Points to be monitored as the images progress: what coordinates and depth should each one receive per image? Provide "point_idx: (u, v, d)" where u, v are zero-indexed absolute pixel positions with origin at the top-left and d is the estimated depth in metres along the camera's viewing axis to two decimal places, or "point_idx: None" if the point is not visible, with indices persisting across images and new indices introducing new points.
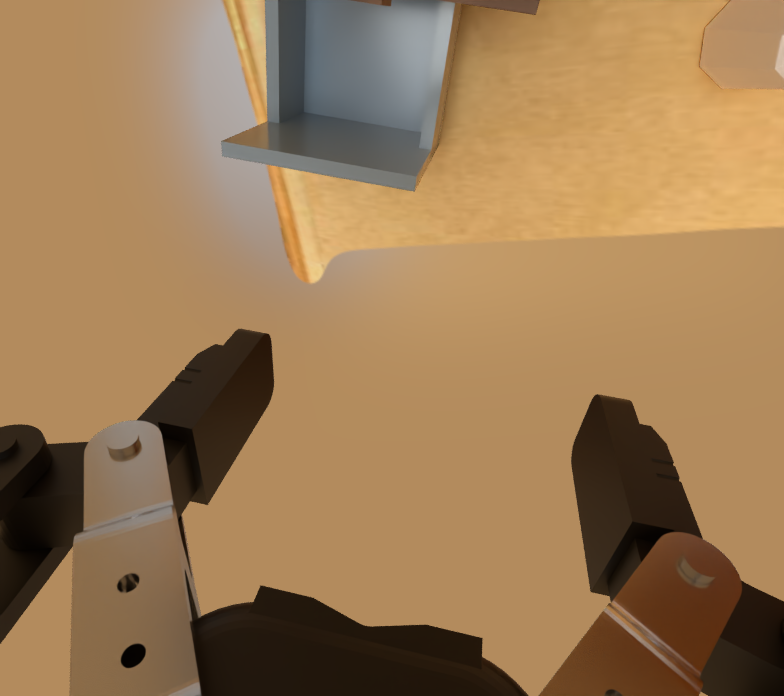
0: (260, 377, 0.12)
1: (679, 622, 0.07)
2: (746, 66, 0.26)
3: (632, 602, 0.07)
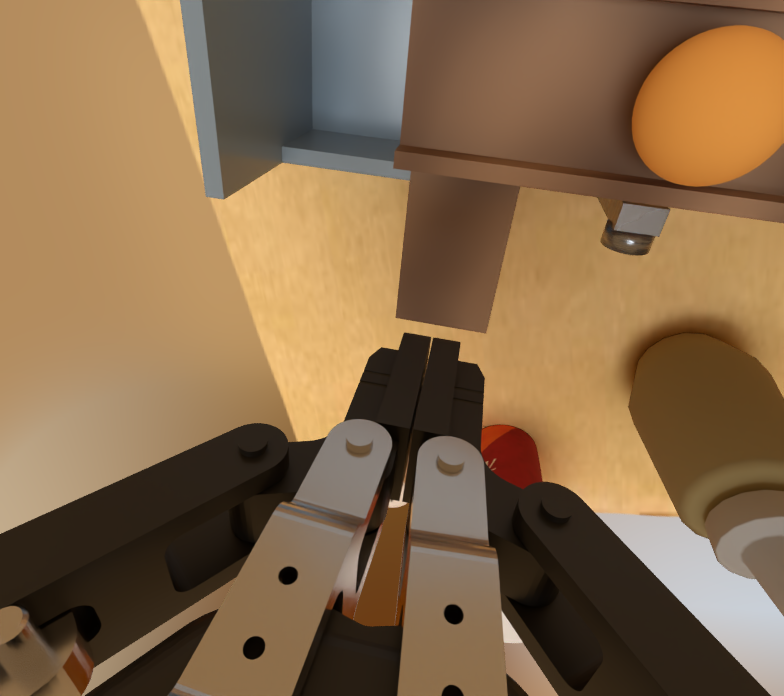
0: (423, 378, 0.12)
1: (459, 512, 0.08)
2: None
3: (424, 520, 0.08)
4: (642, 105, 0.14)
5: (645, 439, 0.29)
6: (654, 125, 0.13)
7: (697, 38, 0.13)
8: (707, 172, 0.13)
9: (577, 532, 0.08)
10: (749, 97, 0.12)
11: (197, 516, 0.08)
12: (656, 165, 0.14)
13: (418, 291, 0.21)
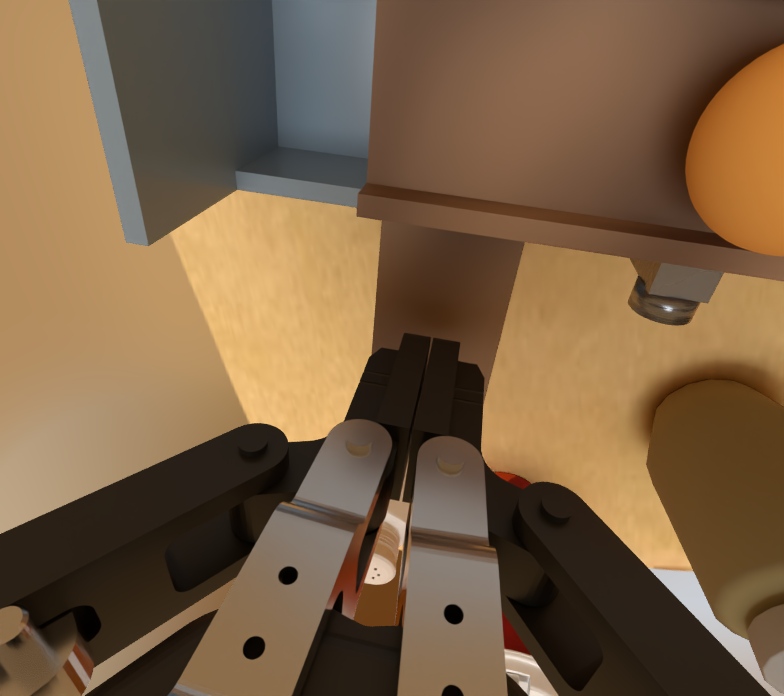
0: (423, 379, 0.12)
1: (459, 512, 0.08)
2: None
3: (424, 520, 0.08)
4: (707, 143, 0.09)
5: (668, 509, 0.25)
6: (727, 174, 0.09)
7: None
8: None
9: (577, 532, 0.08)
10: None
11: (197, 516, 0.08)
12: (725, 228, 0.10)
13: None
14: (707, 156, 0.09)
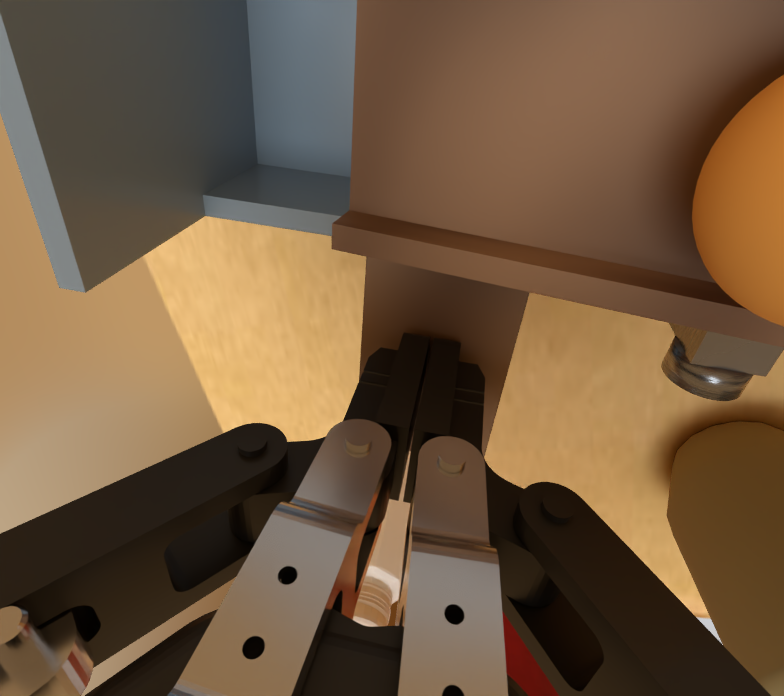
0: (422, 378, 0.12)
1: (460, 512, 0.08)
2: None
3: (424, 520, 0.08)
4: (703, 170, 0.07)
5: (693, 572, 0.22)
6: (710, 209, 0.07)
7: None
8: None
9: (578, 532, 0.08)
10: None
11: (196, 516, 0.08)
12: (717, 280, 0.08)
13: None
14: (700, 187, 0.07)
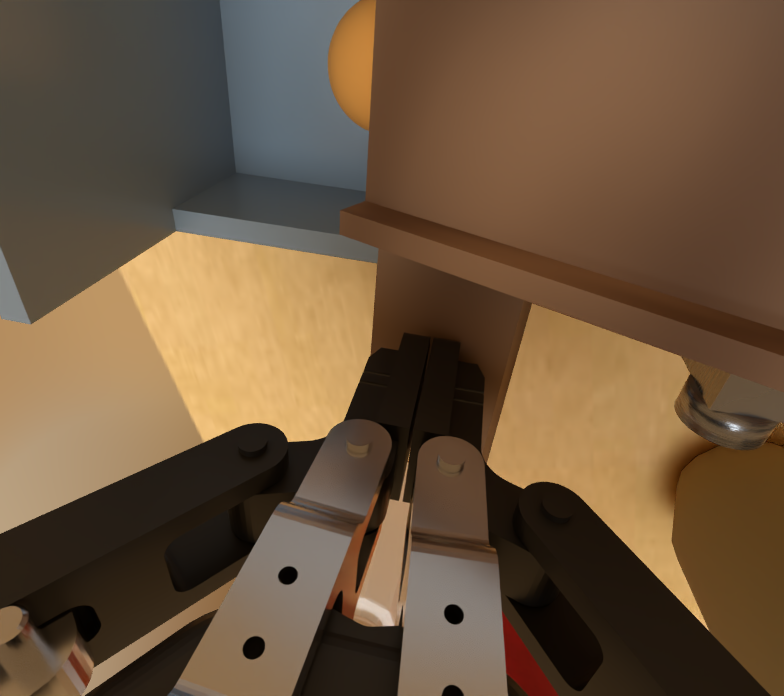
0: (423, 378, 0.12)
1: (459, 512, 0.08)
2: None
3: (424, 520, 0.08)
4: None
5: (701, 604, 0.21)
6: None
7: None
8: None
9: (577, 532, 0.08)
10: None
11: (197, 516, 0.08)
12: None
13: None
14: None
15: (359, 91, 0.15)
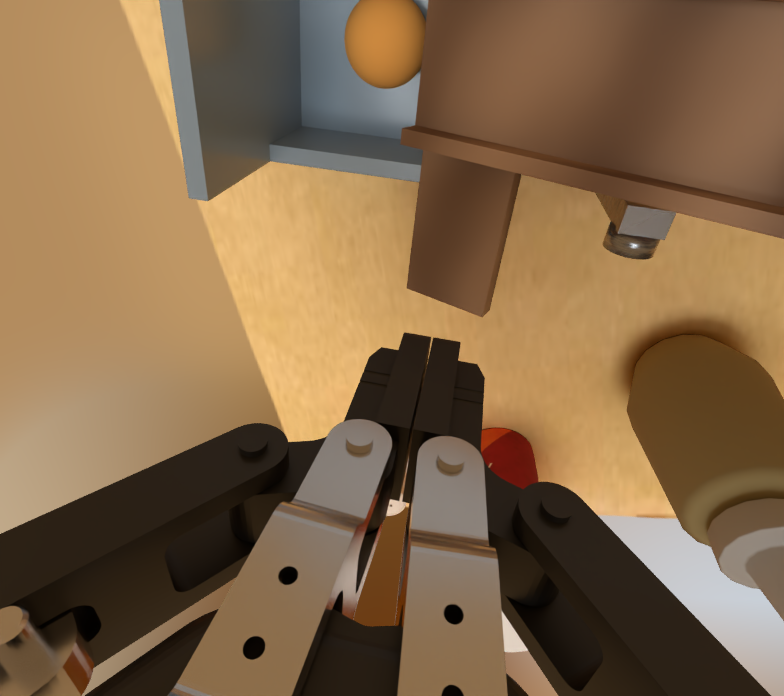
0: (423, 378, 0.12)
1: (459, 512, 0.08)
2: None
3: (424, 520, 0.08)
4: (395, 45, 0.22)
5: (644, 444, 0.29)
6: (408, 56, 0.22)
7: (395, 0, 0.22)
8: None
9: (577, 532, 0.08)
10: None
11: (197, 516, 0.08)
12: (400, 79, 0.23)
13: (425, 265, 0.22)
14: (396, 51, 0.22)
15: (346, 51, 0.23)
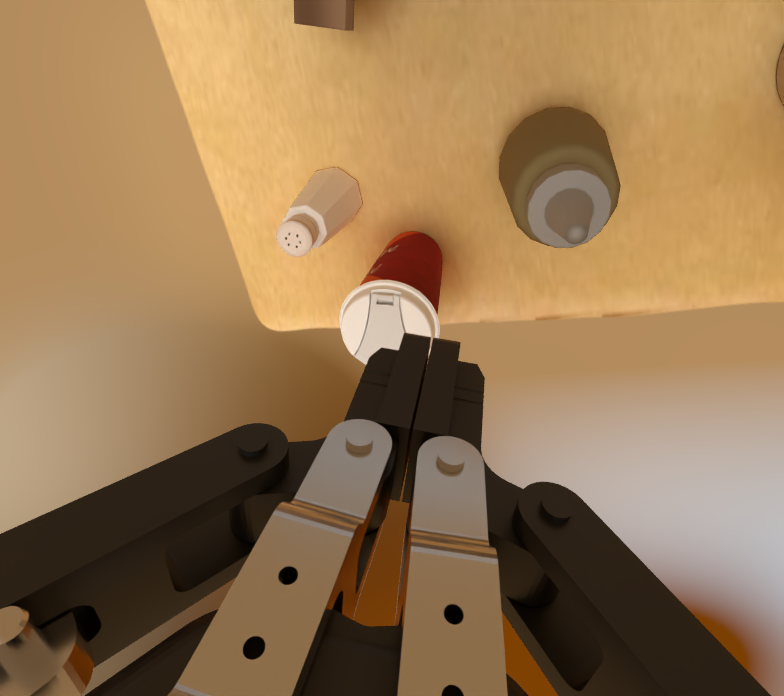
0: (423, 379, 0.12)
1: (459, 512, 0.08)
2: (299, 194, 0.40)
3: (424, 520, 0.08)
4: None
5: (503, 187, 0.35)
6: None
7: None
8: None
9: (577, 532, 0.08)
10: None
11: (197, 516, 0.08)
12: None
13: None
14: None
15: None
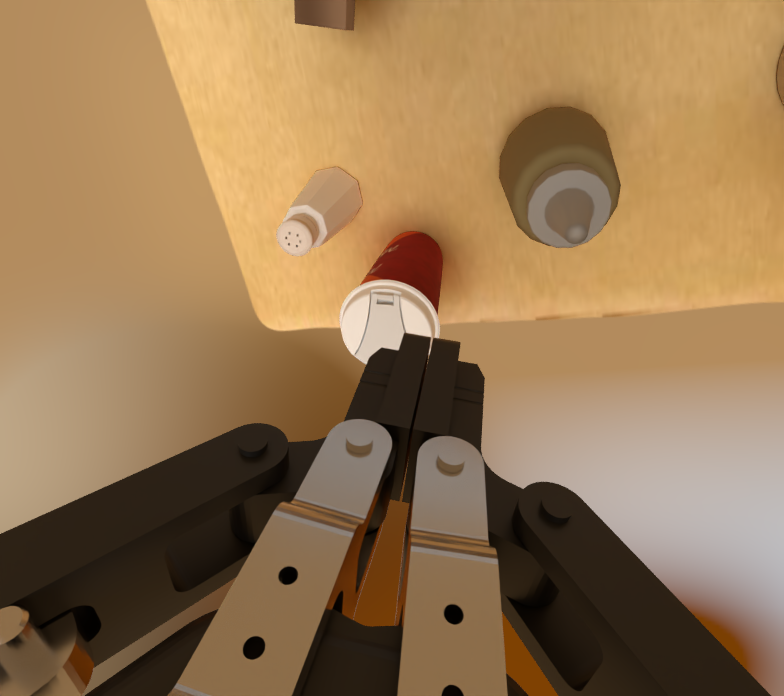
0: (423, 379, 0.12)
1: (459, 512, 0.08)
2: (300, 194, 0.40)
3: (424, 520, 0.08)
4: None
5: (503, 187, 0.35)
6: None
7: None
8: None
9: (577, 532, 0.08)
10: None
11: (197, 516, 0.08)
12: None
13: None
14: None
15: None
